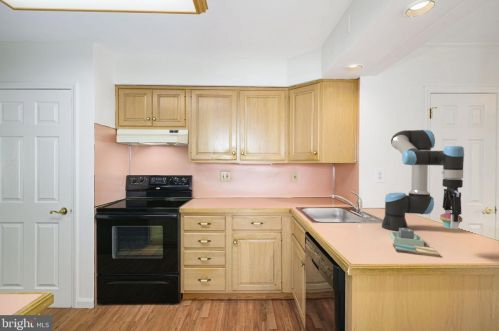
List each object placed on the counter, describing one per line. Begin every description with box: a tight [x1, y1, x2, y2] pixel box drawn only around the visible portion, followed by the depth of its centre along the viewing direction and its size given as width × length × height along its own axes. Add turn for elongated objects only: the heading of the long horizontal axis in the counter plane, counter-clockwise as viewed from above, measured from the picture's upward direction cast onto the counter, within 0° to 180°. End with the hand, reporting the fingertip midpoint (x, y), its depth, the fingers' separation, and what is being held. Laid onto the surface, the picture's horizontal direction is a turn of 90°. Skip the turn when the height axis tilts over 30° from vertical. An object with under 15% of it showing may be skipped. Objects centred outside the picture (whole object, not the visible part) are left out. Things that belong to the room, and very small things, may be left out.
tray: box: [389, 230, 425, 247], centre depth 143 cm, size 14×14×3 cm
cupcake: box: [439, 213, 463, 230], centre depth 123 cm, size 9×8×12 cm
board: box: [392, 242, 441, 258], centre depth 128 cm, size 11×18×1 cm, turn 69°
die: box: [398, 227, 415, 239], centre depth 143 cm, size 6×6×6 cm
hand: (450, 225), depth 123 cm, fingers closed on cupcake, 8 cm apart
